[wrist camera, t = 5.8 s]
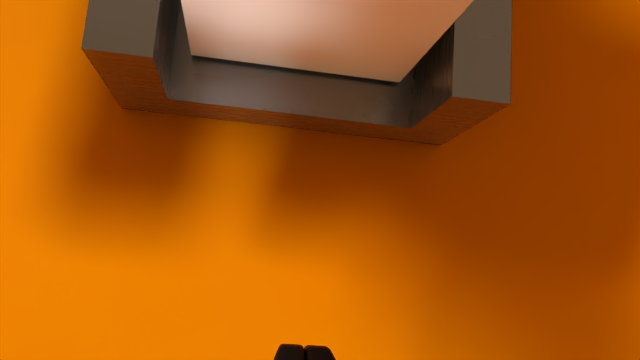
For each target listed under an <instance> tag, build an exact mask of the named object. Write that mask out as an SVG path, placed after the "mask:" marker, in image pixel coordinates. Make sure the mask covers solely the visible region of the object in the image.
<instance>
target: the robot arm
mask: <svg viewBox="0 0 640 360" xmlns="http://www.w3.org/2000/svg"><path fill="white" fill-rule="evenodd" d="M274 360H336V359H335V357H334V356H333V354H332V352H331V350H330V349H329V348H328V347H326V346H315V345H307V346H305V347H304V348H303V346H302V345H297V344H281V345H280V346H279V348H278V350H277V353H276V355H275V358H274Z"/></svg>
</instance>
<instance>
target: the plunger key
mask: <svg viewBox="0 0 640 360" xmlns="http://www.w3.org/2000/svg"><path fill="white" fill-rule="evenodd" d="M473 1H474V0H181V4H182V9H183V14H184V20H185V25H186V30H187V36H188V41H189V46H190V52H191V55H195V56H202V57H210V58H218V59H225V60H233V61H240V62H248V63H256V64H263V65H271V66H278V67H286V68H294V69H301V70H309V71H316V72H324V73H332V74H339V75H347V76H354V77H362V78H370V79H377V80H385V81H392V82H400V81H401V80H402V79H403V78H404V77H405V76H406V75H407V74H408V73H409V71H410V70H411V69H412V68H413V67H414V66H415V65H416V64H417V63H418V61H419V60H420V59H421V58H422V57H423V56H424V55H425V54H426V53H427V51H428V50H429V49H430V48H431V47H432V46H433V45H434V44H435V43H436V42H437V40H438V39H439V38H440V37H441V36H442V35H443V34H444V33H445V32H446V30H447V29H448V28H449V27H450V26H451V25H452V24H453V23H454V22H455V20H456V19H457V18H458V17H459V16H460V15H461V14H462V13H463V12H464V11H465V9H466V8H467V7H468V6H469V5H470V4H471V3H472V2H473Z"/></svg>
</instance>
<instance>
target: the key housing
mask: <svg viewBox="0 0 640 360" xmlns="http://www.w3.org/2000/svg"><path fill="white" fill-rule="evenodd" d="M511 33H512V0H474V1H473V2H472V3H471V4H470V5H469V6H468V7H467V8H466V9H465V11H464V12H463V13H462V14H461V15H460V16H459V17H458V18H457V19H456V20H455V22H454V23H453V24H452V25H451V26H450V27H449V28H448V29H447V30H446V32H445V33H444V34H443V35H442V36H441V37H440V38H439V39H438V40H437V42H436V43H435V44H434V45H433V46H432V47H431V48H430V49H429V50H428V51H427V53H426V54H425V55H424V56H423V57H422V58H421V59H420V60H419V61H418V63H417V64H416V65H415V66H414V67H413V68H412V69H411V70H410V71H409V73H408V74H407V75H406V76H405V77H404V78H403V79H402V80H401V81H400V82H392V81H385V80H377V79H370V78H362V77H354V76H347V75H339V74H332V73H324V72H316V71H309V70H301V69H294V68H286V67H278V66H271V65H263V64H256V63H248V62H240V61H233V60H225V59H218V58H210V57H202V56H195V55H191V52H190V46H189V41H188V36H187V30H186V25H185V20H184V14H183V9H182V4H181V0H89V5H88V11H87V17H86V23H85V30H84V36H83V42H82V50H83V51H84V53H85V54H86V56H87V57H88V59H89V60H90V62H91V63H92V65H93V66H94V68H95V69H96V70H97V72H98V73H99V75H100V76H101V78H102V79H103V81H104V82H105V84H106V85H107V87H108V88H109V90H110V91H111V93H112V94H113V96H114V97H115V98H116V100H117V101H118V103H119V104H120V106H121V107H122V108H126V109H134V110H143V111H152V112H160V113H169V114H178V115H186V116H195V117H204V118H212V119H221V120H230V121H238V122H247V123H256V124H264V125H273V126H282V127H290V128H299V129H307V130H316V131H325V132H333V133H342V134H351V135H359V136H368V137H377V138H385V139H394V140H403V141H411V142H420V143H429V144H437V145H442V144H443V143H445V142H447V141H449V140H450V139H452V138H454V137H455V136H457V135H459V134H460V133H462V132H464V131H465V130H467V129H469V128H471V127H472V126H474V125H476V124H477V123H479V122H481V121H482V120H484V119H486V118H488V117H489V116H491V115H493V114H494V113H496V112H498V111H499V110H501V109H503V108H504V107H506V106H508V105H510V100H511Z"/></svg>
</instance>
